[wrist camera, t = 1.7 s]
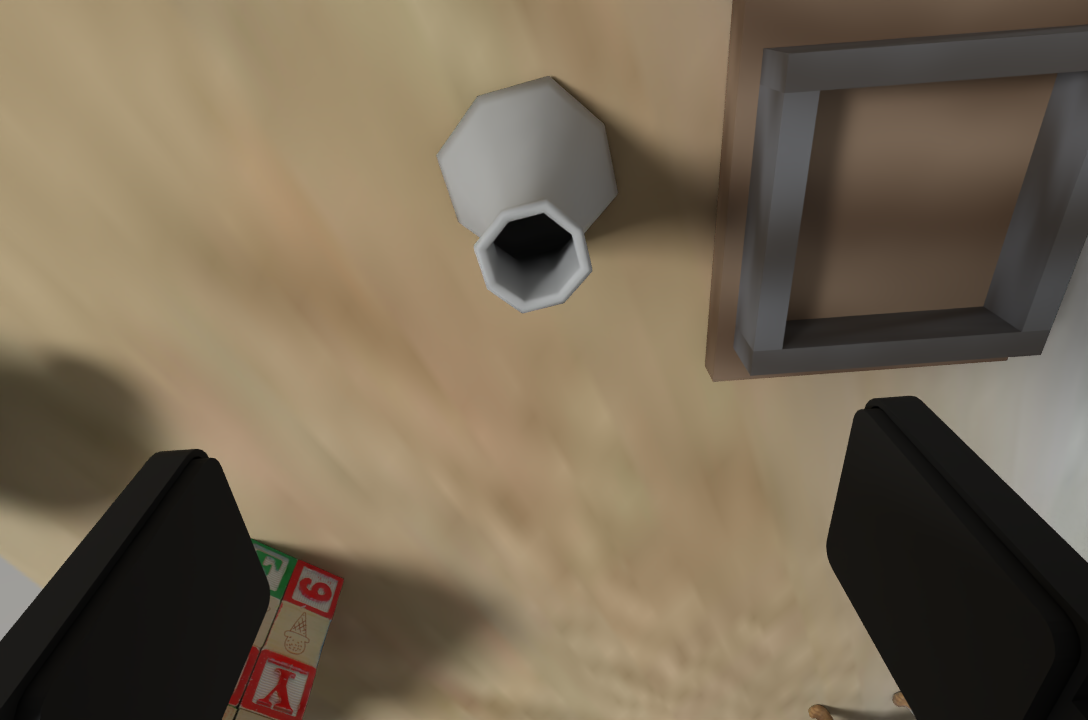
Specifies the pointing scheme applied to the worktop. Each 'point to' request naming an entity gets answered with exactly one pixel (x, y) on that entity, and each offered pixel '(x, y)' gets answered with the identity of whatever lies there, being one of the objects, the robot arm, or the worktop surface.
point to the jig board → (897, 183)
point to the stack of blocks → (285, 640)
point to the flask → (529, 189)
